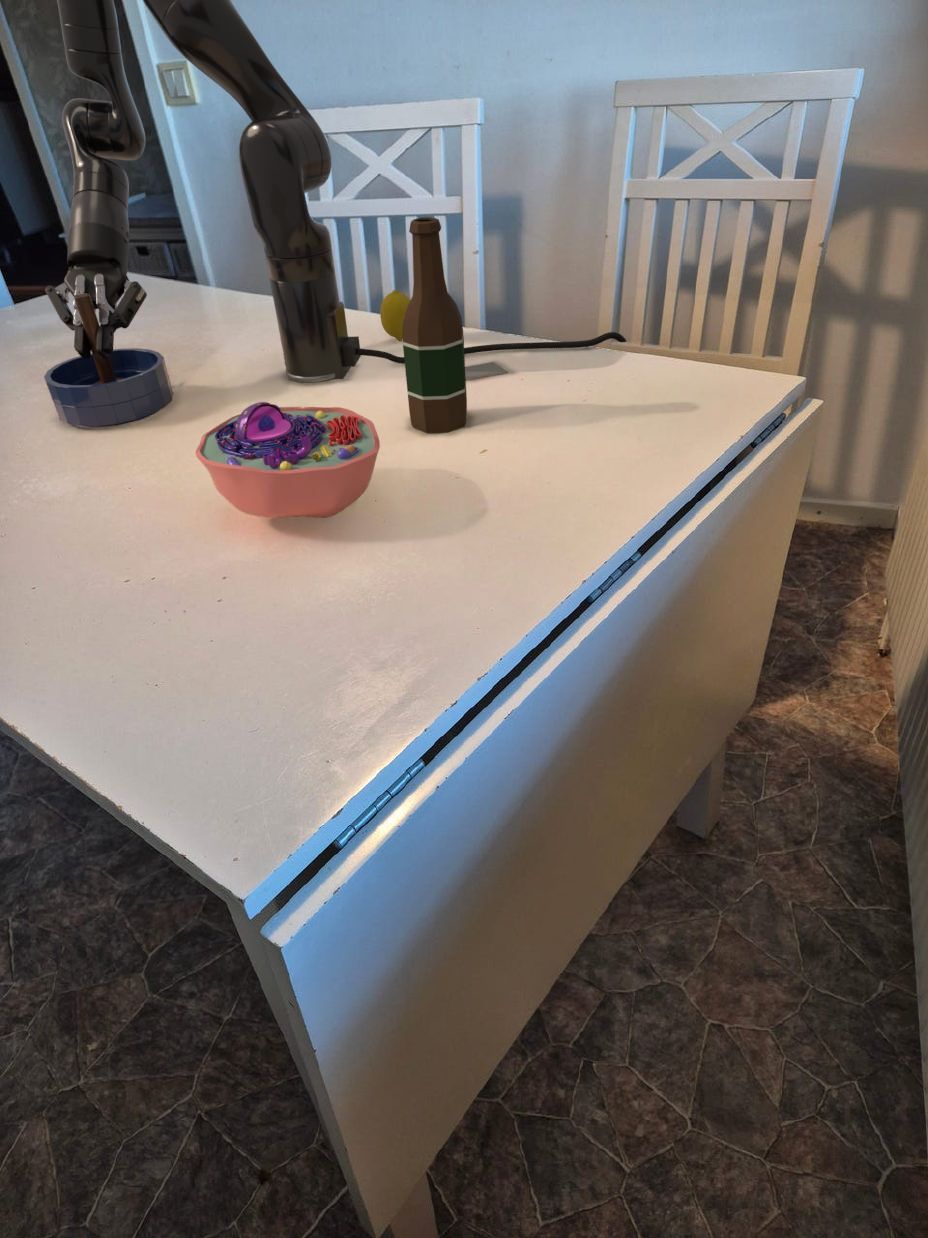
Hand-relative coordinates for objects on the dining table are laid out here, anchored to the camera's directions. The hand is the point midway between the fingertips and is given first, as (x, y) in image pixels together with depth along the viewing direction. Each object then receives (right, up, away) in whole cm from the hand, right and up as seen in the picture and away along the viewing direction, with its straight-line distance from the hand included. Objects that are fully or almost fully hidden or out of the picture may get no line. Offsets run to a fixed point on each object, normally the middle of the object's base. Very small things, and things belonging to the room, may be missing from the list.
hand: (93, 355), depth 109 cm
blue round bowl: (+1, -5, +7) cm, 9 cm away
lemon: (+39, +10, +25) cm, 48 cm away
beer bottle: (+47, -10, -4) cm, 48 cm away
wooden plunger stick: (0, -4, +5) cm, 7 cm away
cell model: (+32, -23, -21) cm, 45 cm away
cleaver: (+49, 0, +10) cm, 50 cm away
